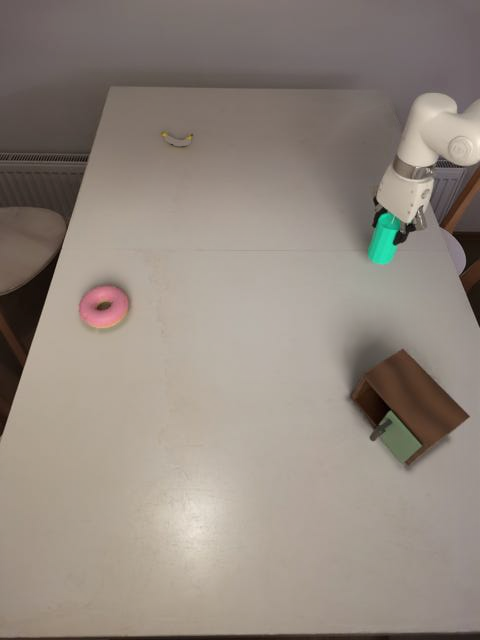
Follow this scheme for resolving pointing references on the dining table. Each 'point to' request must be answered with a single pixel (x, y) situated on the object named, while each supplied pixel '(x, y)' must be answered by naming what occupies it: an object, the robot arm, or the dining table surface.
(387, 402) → the cupboard
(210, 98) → the dining table surface
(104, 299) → the doughnut
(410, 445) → the sliding door
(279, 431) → the dining table surface
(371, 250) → the candle
